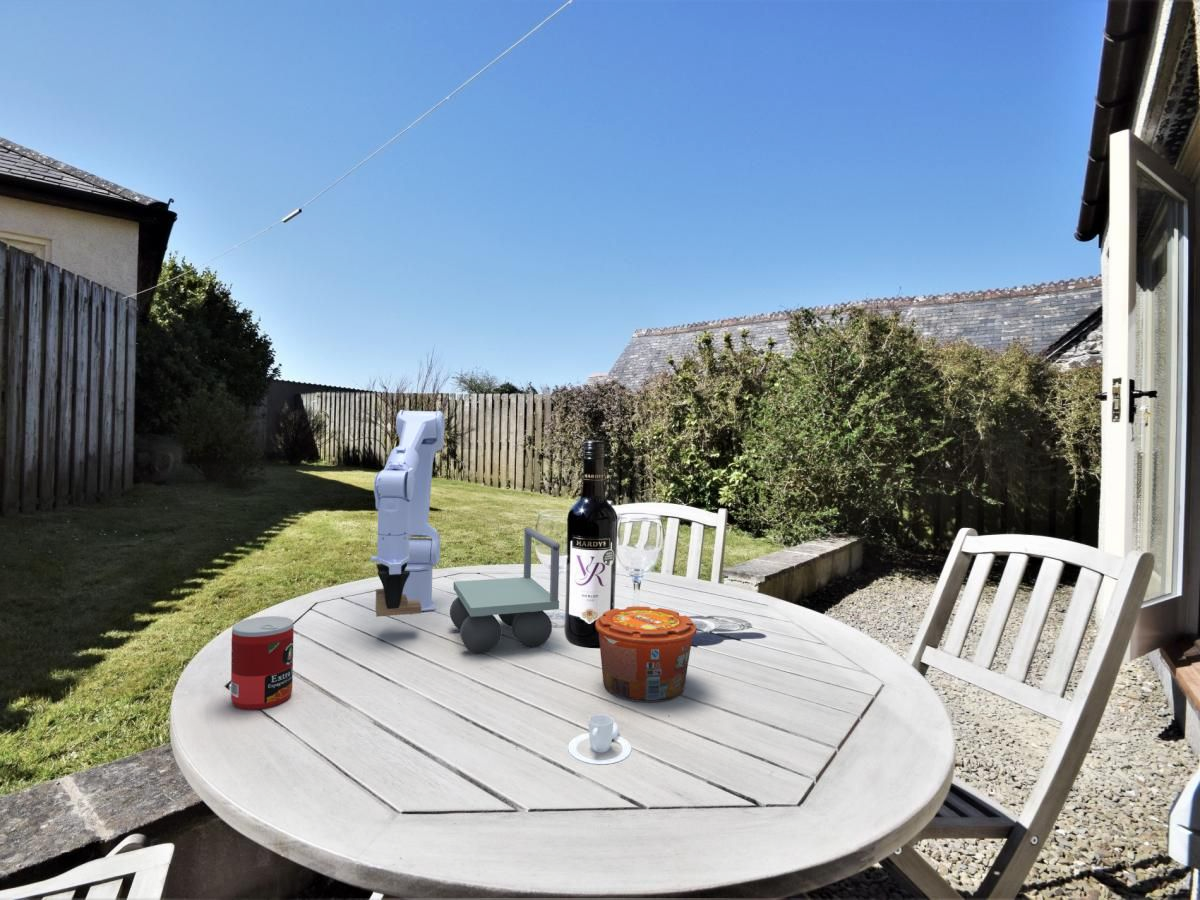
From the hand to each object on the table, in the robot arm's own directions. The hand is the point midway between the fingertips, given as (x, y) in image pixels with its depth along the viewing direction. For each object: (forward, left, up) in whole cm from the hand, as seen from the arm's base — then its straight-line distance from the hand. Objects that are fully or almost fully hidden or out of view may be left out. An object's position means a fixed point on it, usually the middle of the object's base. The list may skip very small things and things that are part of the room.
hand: (392, 604), depth 117 cm
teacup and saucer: (+52, +25, -7) cm, 58 cm away
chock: (0, +1, -2) cm, 2 cm away
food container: (+36, +36, -6) cm, 51 cm away
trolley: (+6, +19, -6) cm, 21 cm away
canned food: (+23, -19, -6) cm, 31 cm away
